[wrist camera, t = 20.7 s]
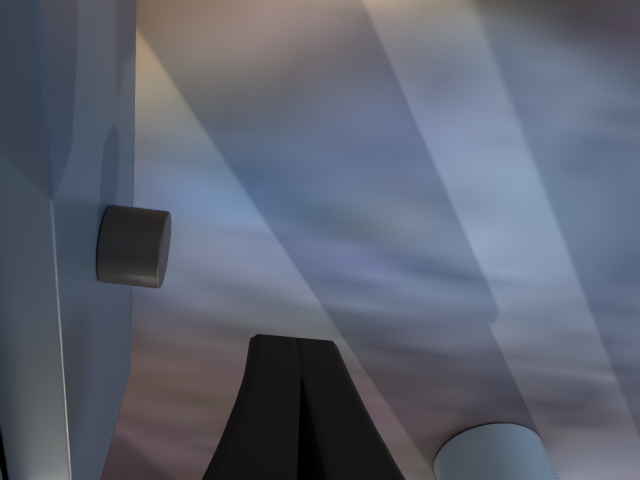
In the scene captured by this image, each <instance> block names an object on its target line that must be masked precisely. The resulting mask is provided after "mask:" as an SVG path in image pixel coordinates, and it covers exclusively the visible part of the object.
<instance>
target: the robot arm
mask: <svg viewBox="0 0 640 480" xmlns="http://www.w3.org/2000/svg"><path fill="white" fill-rule="evenodd" d="M202 480H405V478H404V476H403V475H402V473H401V471H400V470H399V468H398V466H397V464H396V463H395V461H394V459H393V457H392V456H391V454H390V452H389V450H388V448H387V447H386V445H385V443H384V441H383V440H382V438H381V436H380V434H379V432H378V431H377V429H376V427H375V425H374V423H373V421H372V419H371V417H370V416H369V414H368V412H367V410H366V408H365V406H364V404H363V402H362V400H361V398H360V396H359V394H358V392H357V390H356V388H355V385H354V383H353V381H352V379H351V377H350V375H349V373H348V370H347V368H346V366H345V364H344V361H343V359H342V357H341V354H340V352H339V350H338V347H337V346H336V345H335V343H334V342H333V341H328V340H317V339H306V338H295V337H284V336H273V335H263V334H257V335H256V336H254V337H252V338H251V339H250V342H249V348H248V355H247V361H246V367H245V373H244V377H243V381H242V384H241V387H240V390H239V393H238V396H237V399H236V402H235V405H234V407H233V410H232V412H231V415H230V417H229V420H228V422H227V425H226V427H225V430H224V432H223V435H222V437H221V440H220V442H219V444H218V447H217V449H216V451H215V453H214V455H213V457H212V460H211V462H210V464H209V466H208V468H207V470H206V472H205V474H204V476H203V478H202Z"/></svg>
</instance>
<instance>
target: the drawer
mask: <svg viewBox="0 0 640 480" xmlns="http://www.w3.org/2000/svg"><path fill="white" fill-rule="evenodd" d="M135 58H136V0H0V435H1V439H2V445H3V451H4V457H5V463H6V469H7V476H8V480H100V478H101V475H102V471H103V468H104V464H105V461H106V457H107V453H108V450H109V446H110V443H111V439H112V436H113V432H114V428H115V425H116V421H117V418H118V414H119V411H120V407H121V403H122V400H123V396H124V393H125V389H126V386H127V382H128V379H129V375H130V365H131V304H132V286H140V287H150V288H160V287H161V285H162V283H163V280H164V277H165V272H166V267H167V261H168V254H169V246H170V236H171V215H170V213H169V212H168V211H160V210H152V209H144V208H136V207H133V181H134V119H135Z"/></svg>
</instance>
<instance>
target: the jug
mask: <svg viewBox="0 0 640 480" xmlns="http://www.w3.org/2000/svg"><path fill="white" fill-rule="evenodd" d="M433 468H434V474H435V478H436V480H560V478H559V476H558V474H557V471H556V469H555V467H554V465H553V463H552V461H551V458H550V456H549V454H548V452H547V450H546V448H545V445H544V443H543V441H542V440H541V438H540V437H539V436H538V435H537V434H536V433H535V432H533V431H532V430H530V429H528V428H526V427H523V426H520V425H516V424H509V423H497V424H488V425H483V426H479V427H476V428H472V429H470V430H467V431H465V432H463V433H461V434H459V435H457V436H456V437H454V438H453V439H451V440H450V441H449V442H447V443H446V444H445V445H444V446H443V447H442V448H441V450H440V451H439V452H438V454H437V456H436V458H435V461H434V467H433Z"/></svg>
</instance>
